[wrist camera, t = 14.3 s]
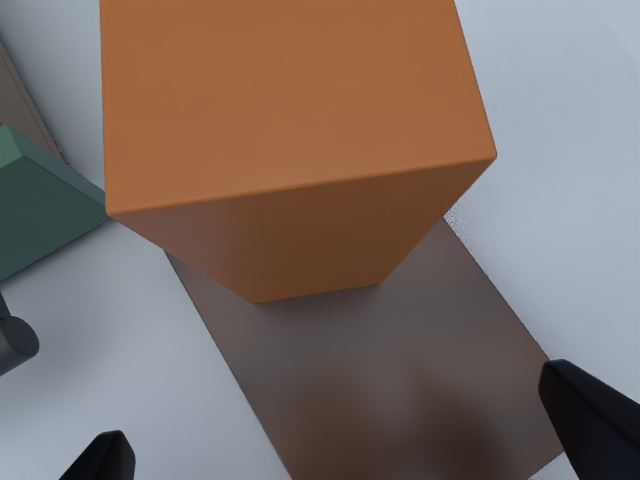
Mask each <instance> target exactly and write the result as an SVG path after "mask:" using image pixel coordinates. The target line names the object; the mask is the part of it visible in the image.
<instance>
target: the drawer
mask: <svg viewBox="0 0 640 480" xmlns="http://www.w3.org/2000/svg"><path fill="white" fill-rule="evenodd" d="M110 218H111V217H109V216H108V215H107V213H106V208H105V192H104V191H102V190H101V189H100V188H98V187H97V186H95V185H94V184H93V183H91V182H90V181H88V180H87V179H85V178H84V177H83V176H81V175H80V174H78V173H77V172H76V171H74V170H73V169H71V168H70V167H68V166H67V165H66V164H65V162H64V160H63V158H62V156H61V154H60V152H59V150H58V148H57V147H56V145H55V143H54V141H53V139H52V137H51V135H50V133H49V131H48V130H47V128H46V126H45V124H44V122H43V120H42V118H41V116H40V114H39V112H38V111H37V109H36V107H35V105H34V103H33V101H32V99H31V97H30V95H29V94H28V92H27V90H26V88H25V86H24V84H23V82H22V80H21V78H20V76H19V75H18V73H17V71H16V69H15V67H14V65H13V63H12V61H11V59H10V58H9V56H8V54H7V52H6V50H5V48H4V46H3V44H2V42H1V40H0V281H2V280H3V279H5V278H7V277H9V276H10V275H12V274H14V273H16V272H17V271H19V270H21V269H23V268H24V267H26V266H28V265H30V264H31V263H33V262H35V261H37V260H38V259H40V258H42V257H44V256H45V255H47V254H49V253H51V252H52V251H54V250H56V249H58V248H59V247H61V246H63V245H65V244H66V243H68V242H70V241H72V240H73V239H75V238H77V237H79V236H80V235H82V234H84V233H86V232H87V231H89V230H91V229H93V228H94V227H96V226H98V225H100V224H101V223H103V222H105V221H107V220H108V219H110ZM38 351H39V340H38V338H37V335H36V333H35V332H34V330H33V329H32V328H31V327H30V326H29V325H28V324H27V323H26V322H25V321H24V320H22V319H20V318H18V317H15V316H11V314H10V312H9V310H8V307H7V305H6V303H5V301H4V298H3V296H2V294H1V292H0V376H2V375H4V374H5V373H7V372H9V371H10V370H12V369H14V368H15V367H17V366H19V365H20V364H22V363H24V362H25V361H27V360H29V359H30V358H32V357H34V356H35V355H36V354H37V353H38Z"/></svg>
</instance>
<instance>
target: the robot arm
mask: <svg viewBox="0 0 640 480" xmlns="http://www.w3.org/2000/svg"><path fill="white" fill-rule="evenodd" d="M538 393H539V397H540V399H541V401H542V404H543V406H544V408H545V410H546V412H547V414H548V416H549V419H550V421H551V423H552V425H553V427H554V429H555V431H556V433H557V436H558V438H559V440H560V442H561V444H562V446H563V448H564V451H565V453H566V455H567V457H568V459H569V461H570V463H571V465H572V467H573V469H574V471H575V473H576V474H577V476H578V478H579V480H640V404H638V403H637V402H635V401H633V400H632V399H630V398H628V397H627V396H625V395H623V394H622V393H620V392H618V391H617V390H615V389H614V388H612V387H610V386H609V385H607V384H605V383H604V382H602V381H600V380H599V379H597V378H595V377H594V376H592V375H590V374H589V373H587V372H586V371H584V370H582V369H581V368H579V367H577V366H576V365H574V364H572V363H571V362H569V361H567V360H564V359H558V360H551V361H546V362H545V363H544V364H543V366H542V371H541V375H540V380H539V384H538ZM135 464H136V459H135V454H134V451H133V449H132V448H131V446H130V444H129V442H128V440H127V439H126V437H125V435H124V433H123V432H122V431H120V430H115V431H109V432H103V433H101V434H99V435H98V436H97V437H96V438H95V439H94V440H93V441H92V442H91V443H90V444H89V446H88V447H87V448H86V449H85V450H84V451H83V452H82V453H81V455H80V456H79V457H78V458H77V459H76V460H75V461H74V463H73V464H72V465H71V466H70V467H69V468H68V469H67V471H66V472H65V473H64V474H63V475H62V476H61V477H60V479H59V480H133V479H134V472H135Z"/></svg>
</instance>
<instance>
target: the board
mask: <svg viewBox="0 0 640 480" xmlns="http://www.w3.org/2000/svg"><path fill="white" fill-rule="evenodd" d="M163 250H164V249H163ZM164 252H165V254H166V256H167V257H168V259H169V261H170V263H171V265H172V266H173V268H174V270H175V272H176V273H177V275H178V277H179V279H180V281H181V282H182V284H183V286H184V288H185V289H186V291H187V293H188V295H189V297H190V298H191V300H192V302H193V304H194V306H195V307H196V309H197V311H198V313H199V314H200V316H201V318H202V320H203V322H204V323H205V325H206V327H207V329H208V331H209V332H210V334H211V336H212V338H213V339H214V341H215V343H216V345H217V347H218V348H219V350H220V352H221V354H222V356H223V357H224V359H225V361H226V363H227V364H228V366H229V368H230V370H231V372H232V373H233V375H234V377H235V379H236V381H237V382H238V384H239V386H240V388H241V389H242V391H243V393H244V395H245V397H246V398H247V400H248V402H249V404H250V406H251V407H252V409H253V411H254V413H255V414H256V416H257V418H258V420H259V422H260V423H261V425H262V427H263V429H264V431H265V432H266V434H267V436H268V438H269V439H270V441H271V443H272V445H273V447H274V448H275V450H276V452H277V454H278V456H279V457H280V459H281V461H282V463H283V464H284V466H285V468H286V470H287V472H288V473H289V475H290V477H291V479H292V480H527V479H528V478H530V477H531V476H532V475H534V474H535V473H536V472H538V471H539V470H540V469H542V468H543V467H544V466H545V465H547V464H548V463H549V462H551V461H552V460H553V459H555V458H556V457H557V456H559V455H560V454H561V453H562V452H564V448H563V446H562V444H561V442H560V440H559V438H558V436H557V433H556V431H555V429H554V427H553V425H552V423H551V421H550V419H549V416H548V414H547V412H546V410H545V408H544V406H543V404H542V401H541V399H540V397H539V393H538V384H539V380H540V375H541V371H542V366H543V364H544V363H545V362H546V361H550V359H549V358H548V357H547V355H546V354H545V353H544V351H543V350H542V349H541V347H540V346H539V345H538V343H537V342H536V341H535V339H534V338H533V337H532V335H531V334H530V333H529V331H528V330H527V329H526V327H525V326H524V325H523V323H522V322H521V321H520V319H519V318H518V317H517V315H516V314H515V313H514V311H513V310H512V309H511V307H510V306H509V305H508V303H507V302H506V301H505V299H504V298H503V297H502V295H501V294H500V293H499V291H498V290H497V289H496V287H495V286H494V285H493V283H492V282H491V281H490V279H489V278H488V277H487V275H486V274H485V273H484V271H483V270H482V269H481V267H480V266H479V265H478V263H477V262H476V261H475V259H474V258H473V257H472V255H471V254H470V253H469V251H468V250H467V249H466V247H465V246H464V245H463V243H462V242H461V241H460V239H459V238H458V237H457V235H456V234H455V233H454V231H453V230H452V229H451V227H450V226H449V225H448V223H447V222H446V221H445V219H444V218H443V217H442V218H441V219H440V220H439V222H438V223H437V224H436V225H435V226H434V227H433V228H432V229H431V230H430V231H429V232H428V234H427V235H426V236H425V237H424V238H423V239H422V240H421V241H420V242H419V243H418V244H417V246H416V247H415V248H414V249H413V250H412V251H411V252H410V253H409V254H408V255H407V256H406V258H405V259H404V260H403V261H402V262H401V263H400V264H399V265H398V266H397V267H396V268H395V270H394V271H393V272H392V273H391V274H390V275H389V276H388V277H387V278H386V279H385V280H384V282H383V283H382V284H377V285H371V286H364V287H358V288H352V289H345V290H339V291H332V292H326V293H319V294H313V295H306V296H300V297H294V298H287V299H281V300H274V301H268V302H261V303H255V304H253V303H251V302H249V301H247V300H246V299H244V298H242V297H241V296H239V295H238V294H236V293H234V292H233V291H231V290H229V289H228V288H226V287H224V286H223V285H221V284H219V283H218V282H216V281H215V280H213V279H211V278H210V277H208V276H206V275H205V274H203V273H201V272H200V271H198V270H196V269H195V268H193V267H192V266H190V265H188V264H187V263H185V262H183V261H182V260H180V259H178V258H177V257H175V256H173V255H172V254H170V253H169V252H167V251H165V250H164Z"/></svg>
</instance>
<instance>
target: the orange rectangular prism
mask: <svg viewBox="0 0 640 480" xmlns="http://www.w3.org/2000/svg"><path fill="white" fill-rule="evenodd" d="M100 29H101V65H102V100H103V136H104V172H105V208H106V213H107V215H108V216H109V217H111V218H113V219H114V220H116V221H118V222H119V223H121V224H122V225H124V226H126V227H127V228H129V229H131V230H132V231H134V232H136V233H137V234H139V235H141V236H142V237H144V238H146V239H147V240H149V241H150V242H152V243H154V244H155V245H157V246H159V247H160V248H162V249H164V250H165V251H167V252H169V253H170V254H172V255H173V256H175V257H177V258H178V259H180V260H182V261H183V262H185V263H187V264H188V265H190V266H192V267H193V268H195V269H196V270H198V271H200V272H201V273H203V274H205V275H206V276H208V277H210V278H211V279H213V280H215V281H216V282H218V283H219V284H221V285H223V286H224V287H226V288H228V289H229V290H231V291H233V292H234V293H236V294H238V295H239V296H241V297H242V298H244V299H246V300H247V301H249V302H251V303H253V304H255V303H261V302H268V301H274V300H281V299H287V298H294V297H300V296H306V295H313V294H319V293H326V292H332V291H339V290H345V289H352V288H358V287H364V286H371V285H377V284H382V283H383V282H384V280H385V279H386V278H387V277H388V276H389V275H390V274H391V273H392V272H393V271H394V270H395V268H396V267H397V266H398V265H399V264H400V263H401V262H402V261H403V260H404V259H405V258H406V256H407V255H408V254H409V253H410V252H411V251H412V250H413V249H414V248H415V247H416V246H417V244H418V243H419V242H420V241H421V240H422V239H423V238H424V237H425V236H426V235H427V234H428V232H429V231H430V230H431V229H432V228H433V227H434V226H435V225H436V224H437V223H438V222H439V220H440V219H441V218H442V217H443V216H444V215H445V214H446V213H447V212H448V211H449V210H450V208H451V207H452V206H453V205H454V204H455V203H456V202H457V201H458V200H459V199H460V198H461V196H462V195H463V194H464V193H465V192H466V191H467V190H468V189H469V188H470V187H471V186H472V184H473V183H474V182H475V181H476V180H477V179H478V178H479V177H480V176H481V175H482V174H483V172H484V171H485V170H486V169H487V168H488V167H489V166H490V165H491V164H492V163H493V162H494V160H495V159H496V158H497V151H496V147H495V144H494V140H493V137H492V133H491V130H490V126H489V123H488V119H487V116H486V112H485V109H484V105H483V101H482V98H481V94H480V91H479V87H478V84H477V80H476V77H475V73H474V70H473V66H472V63H471V59H470V55H469V52H468V48H467V45H466V41H465V38H464V34H463V31H462V27H461V24H460V20H459V17H458V13H457V9H456V6H455V2H454V0H100Z"/></svg>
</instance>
